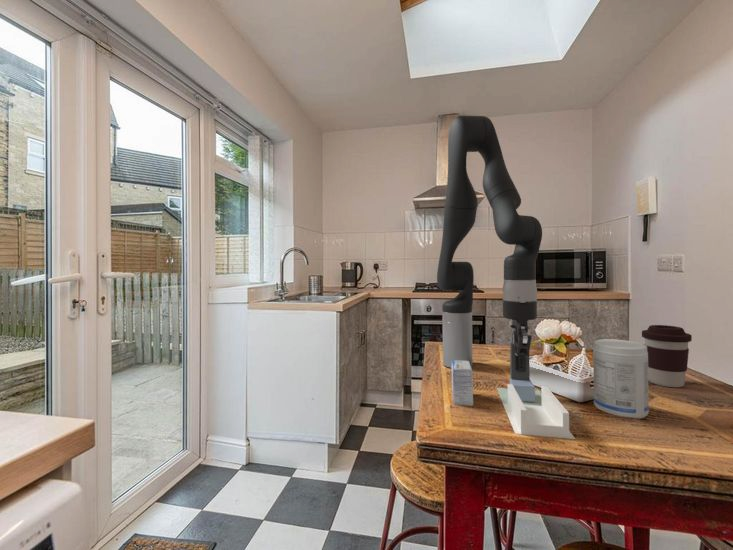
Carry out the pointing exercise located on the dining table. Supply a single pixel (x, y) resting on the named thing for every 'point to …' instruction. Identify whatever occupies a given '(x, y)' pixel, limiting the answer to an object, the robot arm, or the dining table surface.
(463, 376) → the medicine box
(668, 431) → the dining table surface
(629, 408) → the supplement tub
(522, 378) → the lane block
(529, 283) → the robot arm
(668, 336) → the coffee cup
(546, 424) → the lane fixture
